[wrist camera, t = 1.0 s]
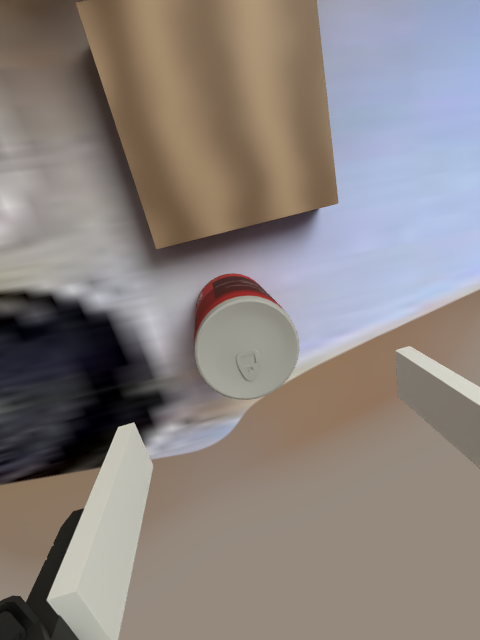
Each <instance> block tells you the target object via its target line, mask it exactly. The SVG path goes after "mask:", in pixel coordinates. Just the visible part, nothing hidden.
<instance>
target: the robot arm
mask: <svg viewBox="0 0 480 640" xmlns="http://www.w3.org/2000/svg"><path fill="white" fill-rule="evenodd" d="M395 356H396V375H397V393H398V397H399V398H400V399H401V400H402V401H404V402H405V403H406V404H407V405H408V406H409V407H410V408H411V409H413V410H414V411H415V412H416V413H417V414H418V415H419V416H421V417H422V418H423V419H424V420H425V421H426V422H428V423H429V424H430V425H431V426H432V427H433V428H434V429H435V430H437V431H438V432H439V433H440V434H441V435H442V436H443V437H444V438H446V439H447V440H448V441H449V442H450V443H451V444H452V445H453V446H455V447H456V448H457V449H458V450H459V451H460V452H461V453H463V454H464V455H465V456H466V457H467V458H468V459H469V460H470V461H472V462H473V463H474V464H475V465H476V466H477V467H478V468H480V387H478V386H477V385H475V384H473V383H472V382H470V381H468V380H466V379H465V378H463V377H461V376H459V375H458V374H456V373H455V372H453V371H451V370H449V369H448V368H446V367H444V366H442V365H441V364H439V363H437V362H436V361H434V360H432V359H431V358H429V357H427V356H426V355H424V354H422V353H420V352H419V351H417V350H415V349H414V348H412V347H410V346H409V347H405V348H402V349H398V350H395ZM152 470H153V464H152V462H151V459H150V457H149V455H148V452H147V450H146V448H145V446H144V443H143V441H142V439H141V437H140V434H139V432H138V430H137V428H136V426H135V423H131V424H127V425H124V426H120V427H118V429H117V431H116V434H115V436H114V439H113V441H112V443H111V446H110V448H109V451H108V453H107V456H106V458H105V460H104V463H103V465H102V468H101V470H100V473H99V475H98V477H97V480H96V482H95V485H94V487H93V489H92V492H91V494H90V497H89V499H88V501H87V504H86V506H85V508H84V509H80V510H77V511H73V512H72V514H71V515H70V516H69V518H68V519H67V520H66V521H65V523H64V524H63V525H62V527H61V528H60V531H59V533H58V535H57V537H56V539H55V541H54V546H52V548H51V550H50V552H49V554H48V556H47V560H46V561H45V563H44V565H43V567H42V569H41V571H40V574H39V576H38V578H37V580H36V582H35V584H34V586H33V588H32V591H31V593H30V595H29V597H28V599H27V601H26V603H25V601H24V600H23V599H22V598H21V597H20V596H11V597H8V598H6V599H3V600H2V601H0V640H118V637H119V632H120V628H121V622H122V618H123V613H124V608H125V603H126V598H127V593H128V588H129V583H130V578H131V573H132V569H133V564H134V559H135V554H136V549H137V544H138V539H139V534H140V529H141V524H142V519H143V515H144V510H145V505H146V499H147V495H148V490H149V485H150V480H151V475H152Z"/></svg>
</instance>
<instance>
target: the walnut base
mask: <svg viewBox="0 0 480 640" xmlns="http://www.w3.org/2000/svg"><path fill="white" fill-rule="evenodd" d="M76 6H77V9H78V12H79V15H80V18H81V21H82V24H83V27H84V30H85V33H86V36H87V39H88V42H89V45H90V48H91V51H92V55H93V58H94V61H95V64H96V67H97V70H98V73H99V76H100V79H101V82H102V85H103V88H104V91H105V94H106V97H107V100H108V103H109V106H110V109H111V112H112V115H113V119H114V122H115V125H116V128H117V131H118V134H119V137H120V140H121V143H122V146H123V149H124V152H125V155H126V158H127V161H128V164H129V167H130V170H131V173H132V176H133V180H134V183H135V186H136V189H137V192H138V195H139V198H140V201H141V204H142V207H143V210H144V213H145V216H146V219H147V222H148V225H149V228H150V231H151V234H152V237H153V241H154V244H155V247H156V249H160V248H164V247H168V246H172V245H176V244H180V243H184V242H188V241H192V240H196V239H200V238H204V237H208V236H211V235H215V234H219V233H223V232H227V231H231V230H235V229H239V228H243V227H247V226H251V225H255V224H259V223H263V222H267V221H271V220H275V219H279V218H283V217H287V216H291V215H295V214H299V213H303V212H307V211H310V210H314V209H318V208H322V207H326V206H330V205H334V204H338V195H337V186H336V176H335V167H334V158H333V148H332V139H331V130H330V121H329V111H328V102H327V93H326V83H325V74H324V65H323V55H322V46H321V37H320V28H319V18H318V9H317V0H86V1H81V2H76Z"/></svg>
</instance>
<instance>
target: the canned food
mask: <svg viewBox="0 0 480 640" xmlns="http://www.w3.org/2000/svg"><path fill="white" fill-rule="evenodd" d="M194 354H195V361H196V365H197V367H198V370H199V373H200V374H201V376H202V377H203V379H204V381H205V382H206V383H207V384H208V385H209V386H210V387H211V388H212V389H214V390H215V391H217V392H218V393H220V394H222V395H224V396H227V397H229V398H234V399H242V400H249V399H256V398H259V397H262V396H265V395H268V394H270V393H271V392H273V391H275V390H276V389H278V388H279V387H280V386H281V385H283V383H284V382H285V381H286V380H287V379H288V378H289V376H290V375H291V373H292V372H293V370H294V368H295V365H296V363H297V360H298V354H299V339H298V334H297V331H296V328H295V326H294V324H293V322H292V320H291V319H290V317H289V316H288V315H287V313H286V312H285V311H284V310H283V309H282V307H281V306H280V305H279V304H278V303H277V302H276V301H275V300H274V299H273V298H272V297H271V296H270V295H269V294H268V293H267V292H266V291H265V290H264V289H263V288H262V287H261V286H260V285H259V284H257V283H256V282H255V281H254V280H252V279H251V278H249V277H247V276H244V275H241V274H225V275H222V276H219V277H217V278H215V279H213V280H211V281H210V282H209V283H208V284H207V285H206V286H205V287H204V289H203V290H202V291H201V293H200V295H199V297H198V301H197V305H196V319H195V334H194Z"/></svg>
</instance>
